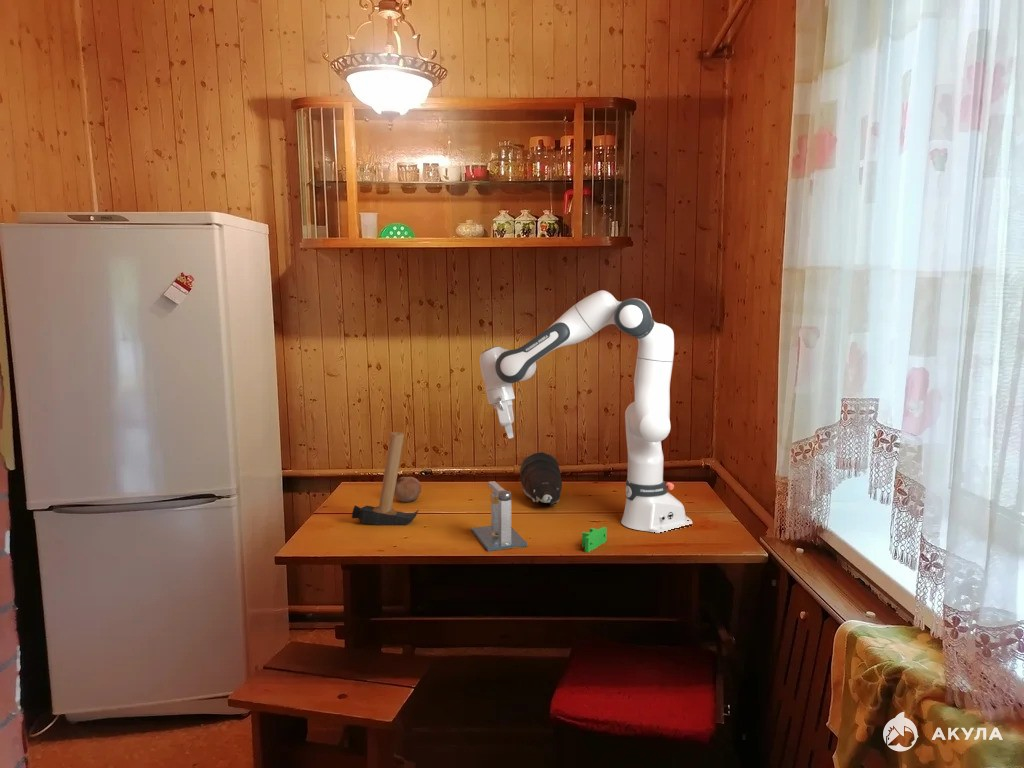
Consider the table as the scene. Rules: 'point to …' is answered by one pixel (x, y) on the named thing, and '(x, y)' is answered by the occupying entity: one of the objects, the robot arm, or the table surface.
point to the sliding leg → (494, 512)
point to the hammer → (387, 492)
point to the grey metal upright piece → (503, 512)
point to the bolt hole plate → (491, 539)
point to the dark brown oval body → (541, 478)
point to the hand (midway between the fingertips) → (511, 438)
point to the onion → (407, 489)
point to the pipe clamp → (594, 538)
